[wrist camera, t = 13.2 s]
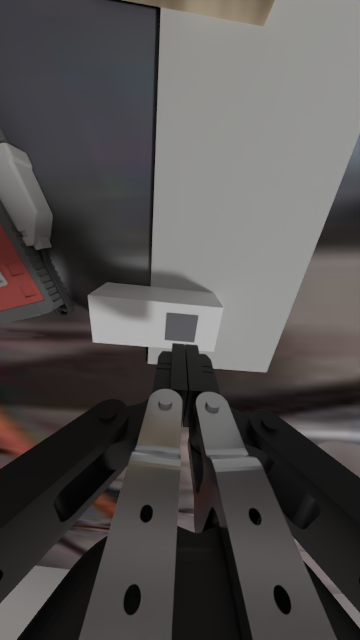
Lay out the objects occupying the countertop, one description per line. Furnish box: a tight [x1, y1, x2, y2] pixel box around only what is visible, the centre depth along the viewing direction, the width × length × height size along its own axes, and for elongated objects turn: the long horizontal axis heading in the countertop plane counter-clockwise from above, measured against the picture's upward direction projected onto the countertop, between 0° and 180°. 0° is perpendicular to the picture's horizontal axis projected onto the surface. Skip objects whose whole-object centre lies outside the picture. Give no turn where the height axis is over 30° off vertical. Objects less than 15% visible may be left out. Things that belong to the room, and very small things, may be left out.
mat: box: [148, 0, 360, 372], centre depth 14 cm, size 14×34×1 cm, turn 174°
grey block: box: [88, 282, 224, 352], centre depth 16 cm, size 4×4×10 cm
